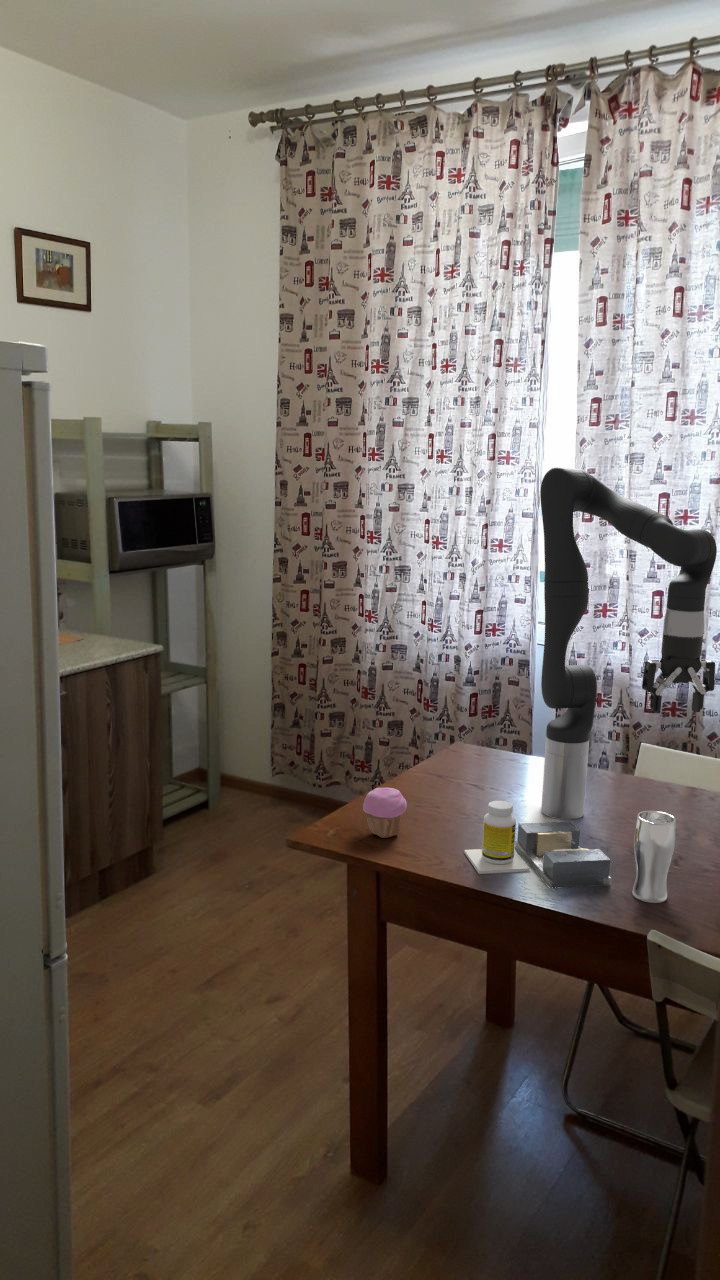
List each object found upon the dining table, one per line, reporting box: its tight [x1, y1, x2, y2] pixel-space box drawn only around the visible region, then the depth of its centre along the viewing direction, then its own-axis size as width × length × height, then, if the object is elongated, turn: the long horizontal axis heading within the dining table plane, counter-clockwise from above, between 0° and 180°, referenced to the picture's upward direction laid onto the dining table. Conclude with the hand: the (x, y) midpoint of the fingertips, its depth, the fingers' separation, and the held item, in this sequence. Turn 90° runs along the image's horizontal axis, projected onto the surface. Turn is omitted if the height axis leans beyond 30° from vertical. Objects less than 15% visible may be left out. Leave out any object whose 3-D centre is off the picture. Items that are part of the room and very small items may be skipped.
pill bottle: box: [481, 800, 517, 864], centre depth 192 cm, size 6×6×11 cm
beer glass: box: [632, 810, 677, 904], centre depth 179 cm, size 7×7×15 cm
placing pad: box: [463, 848, 531, 875], centre depth 193 cm, size 10×10×1 cm
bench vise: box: [514, 820, 612, 889], centre depth 192 cm, size 19×12×5 cm, turn 10°
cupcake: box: [362, 787, 408, 839], centre depth 204 cm, size 9×9×10 cm
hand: (675, 712), depth 198 cm, fingers open, 8 cm apart
